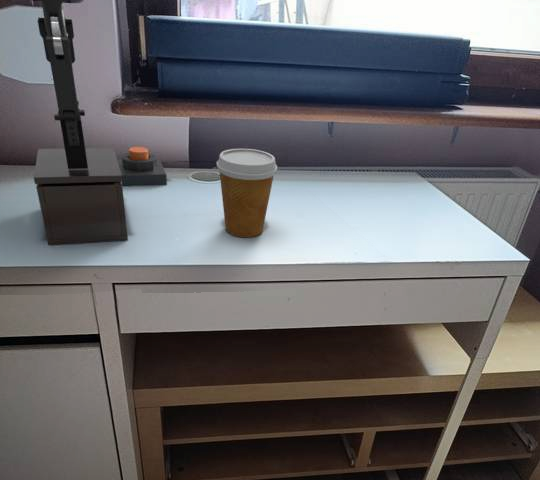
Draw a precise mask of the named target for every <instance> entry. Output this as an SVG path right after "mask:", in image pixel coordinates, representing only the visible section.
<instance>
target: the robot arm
mask: <svg viewBox="0 0 540 480" xmlns="http://www.w3.org/2000/svg"><path fill="white" fill-rule="evenodd" d="M30 1H32V2H41V6H42V7H41V8H42V13H43V17H40V16H39V17H38V18H37V26H38V32H39V36H41V38H42V43H43V48H44V53H45V59H46V61H47V62H48V63H49V64H50V69H51V74H52V75H51V76H53V79H52V80H53V87H54V91H55V99H56V104H57V109H58V111H57V113H55V114H54V115H53V117H54V121H59V123H60V129H61V134H62V135H61V136H62V140H63V141H62V142H63V146H64V149H65V153H66V159H67V165H68V169H88V164H87V157H86V150H85V148H86V145H85V144H86V143H85V137H84V130H83V124H82V123H83V122H82V117H85V116H86V113H85V109H81V108H79V107H80V102H79V100H78V96H77V89H76V82H75V76H74V68H73V64H74V63H75V61H76V53H75V47H74V41H73V40H74V38H75V32H74V25H73V19H71V18H66V17H65V11H64V5H63V4H80V3H82V2H84V0H30Z"/></svg>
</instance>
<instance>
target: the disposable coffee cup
mask: <svg viewBox="0 0 540 480" xmlns="http://www.w3.org/2000/svg"><path fill="white" fill-rule="evenodd" d="M218 156H219V157H218V160H216V167H217V169H218V172H219V179H220V188H221V189H220V190H221V197H222V208H223V217H224V218H223V219H224V227H225V232H226V233H228V234H229V235H232V236H234V237H239V238H254V237H257V236H260V235H262V233H263V232H264V225H265V221H266V215H267V210H268V207H269V200H270V196H271V192H272V186H273V185H272V184H273V182H274V176H275V175H276V172H277V170H278V165H277V164H276V158H275V156H274V155H272V154H271V153H269V152H266V151H263V150H259V149H253V148H229V149H226V150H223V151H221V152H220V154H219V155H218Z"/></svg>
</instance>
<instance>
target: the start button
mask: <svg viewBox="0 0 540 480" xmlns="http://www.w3.org/2000/svg"><path fill="white" fill-rule="evenodd" d="M128 153H129V156H130V159H132V160H147V159H149V158H148V153H149V149H148V148H146V147H143V146H132V147H130V148H128Z"/></svg>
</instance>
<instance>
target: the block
mask: <svg viewBox="0 0 540 480" xmlns="http://www.w3.org/2000/svg"><path fill="white" fill-rule="evenodd" d="M148 158H149V159H147V160H132V159H130V156H129V152H126V153H124V154H123V155H121V158H117V161H118V165H119V168H120V172H121V175H122V187H147V186H148V187H149V186H167V185H168V180H167V179H168V178H167V177H168V176H167V172H166V171H165V168H164V166H163V164H162V162H161V160H160V158H158V157H156V155H155V154H152V153H151V152H148Z"/></svg>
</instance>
